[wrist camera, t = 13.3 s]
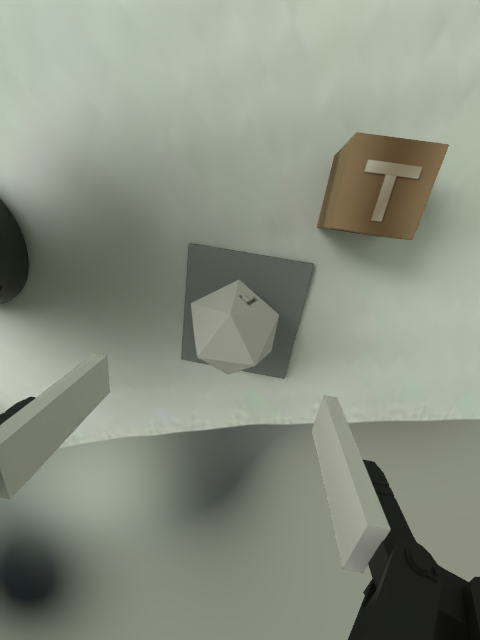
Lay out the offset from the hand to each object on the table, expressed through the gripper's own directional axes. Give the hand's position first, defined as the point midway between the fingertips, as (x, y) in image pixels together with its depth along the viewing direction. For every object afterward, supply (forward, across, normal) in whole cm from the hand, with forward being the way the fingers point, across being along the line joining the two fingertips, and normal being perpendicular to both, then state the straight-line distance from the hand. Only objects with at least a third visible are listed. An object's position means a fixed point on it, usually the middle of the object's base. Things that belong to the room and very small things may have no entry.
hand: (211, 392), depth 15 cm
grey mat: (+14, 0, 0) cm, 14 cm away
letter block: (+14, +10, +13) cm, 22 cm away
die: (+14, 0, 0) cm, 14 cm away
